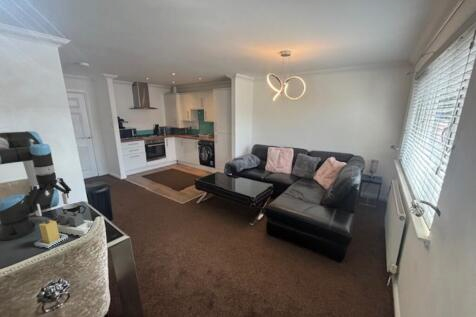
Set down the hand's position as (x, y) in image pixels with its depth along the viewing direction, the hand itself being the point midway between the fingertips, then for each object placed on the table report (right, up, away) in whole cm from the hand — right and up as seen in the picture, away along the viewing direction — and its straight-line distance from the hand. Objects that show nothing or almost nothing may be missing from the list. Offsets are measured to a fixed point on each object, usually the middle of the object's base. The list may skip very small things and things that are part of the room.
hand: (53, 209), depth 109 cm
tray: (-3, -19, +3) cm, 20 cm away
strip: (+2, -16, +14) cm, 22 cm away
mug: (-10, -14, +27) cm, 32 cm away
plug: (-3, -19, +3) cm, 20 cm away
